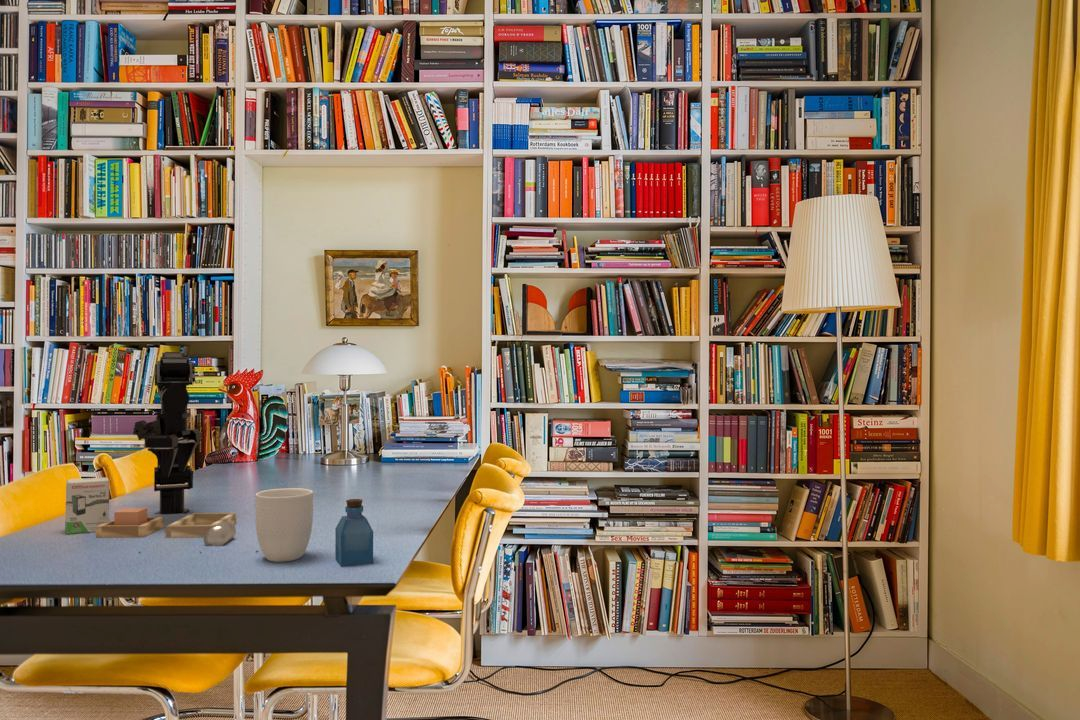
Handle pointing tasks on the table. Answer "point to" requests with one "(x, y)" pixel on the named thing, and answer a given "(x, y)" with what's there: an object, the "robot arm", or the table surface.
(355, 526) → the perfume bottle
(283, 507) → the mug
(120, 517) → the cube
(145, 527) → the oak box
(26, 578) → the table surface
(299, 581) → the table surface
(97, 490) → the ink box
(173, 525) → the birch box
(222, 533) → the grey rounded piece
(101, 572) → the table surface
